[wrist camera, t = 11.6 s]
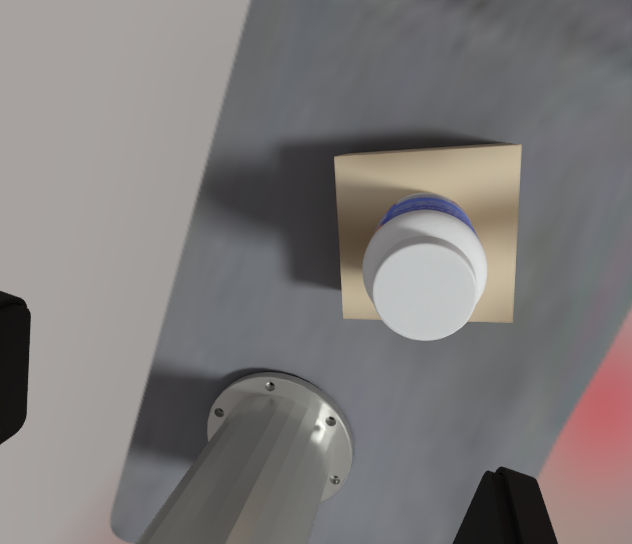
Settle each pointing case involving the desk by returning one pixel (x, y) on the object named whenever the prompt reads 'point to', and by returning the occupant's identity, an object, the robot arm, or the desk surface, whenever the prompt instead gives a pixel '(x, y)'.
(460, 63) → the desk surface
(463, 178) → the oak block
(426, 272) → the pill bottle
